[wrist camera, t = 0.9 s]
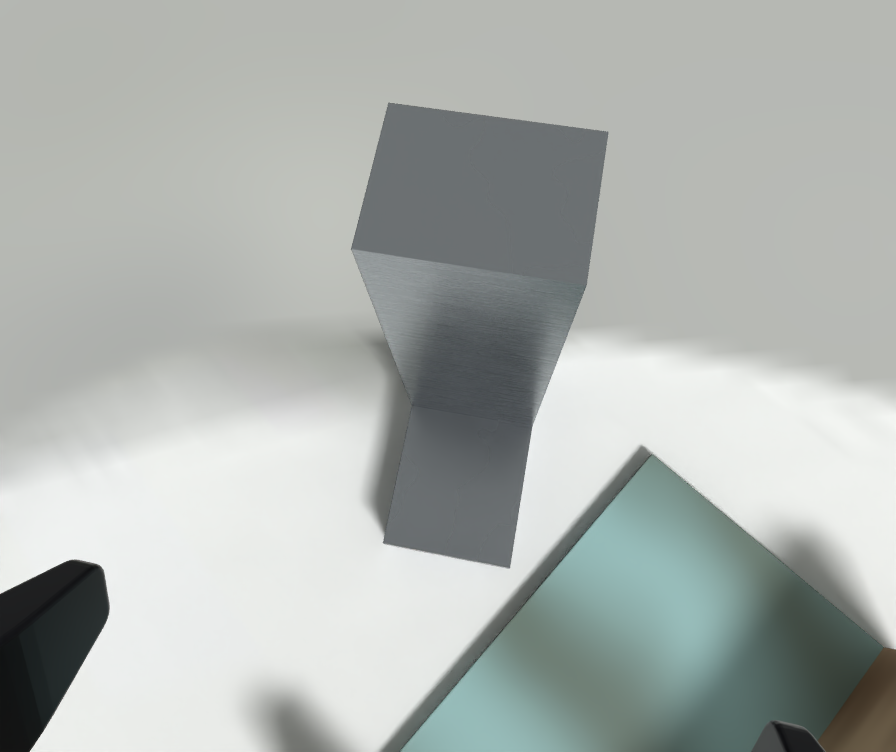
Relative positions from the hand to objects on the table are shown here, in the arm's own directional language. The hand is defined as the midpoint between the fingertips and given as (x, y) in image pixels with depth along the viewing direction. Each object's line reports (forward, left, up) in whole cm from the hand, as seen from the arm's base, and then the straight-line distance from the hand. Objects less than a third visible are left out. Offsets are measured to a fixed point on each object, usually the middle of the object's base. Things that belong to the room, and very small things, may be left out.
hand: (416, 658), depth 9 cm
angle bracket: (+4, +3, -13) cm, 14 cm away
